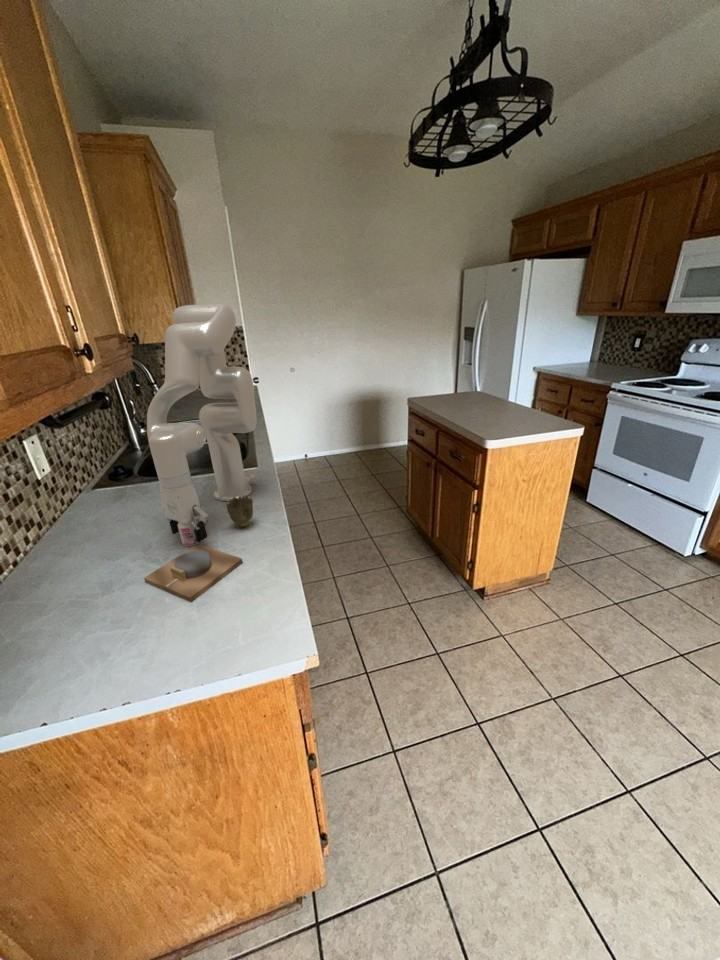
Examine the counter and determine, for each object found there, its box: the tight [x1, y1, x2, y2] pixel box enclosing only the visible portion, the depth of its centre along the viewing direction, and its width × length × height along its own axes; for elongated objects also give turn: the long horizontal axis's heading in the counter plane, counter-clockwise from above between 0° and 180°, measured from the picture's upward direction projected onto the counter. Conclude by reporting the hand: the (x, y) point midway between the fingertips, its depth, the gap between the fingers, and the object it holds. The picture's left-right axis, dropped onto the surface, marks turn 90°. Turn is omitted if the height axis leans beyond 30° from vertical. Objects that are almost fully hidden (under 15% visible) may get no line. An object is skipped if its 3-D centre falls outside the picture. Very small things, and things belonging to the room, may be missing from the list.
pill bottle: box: [178, 516, 200, 547], centre depth 108 cm, size 5×5×8 cm
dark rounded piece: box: [225, 496, 254, 529], centre depth 115 cm, size 8×7×8 cm
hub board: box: [143, 543, 244, 603], centre depth 96 cm, size 16×16×4 cm
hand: (189, 535), depth 108 cm, fingers open, 9 cm apart
